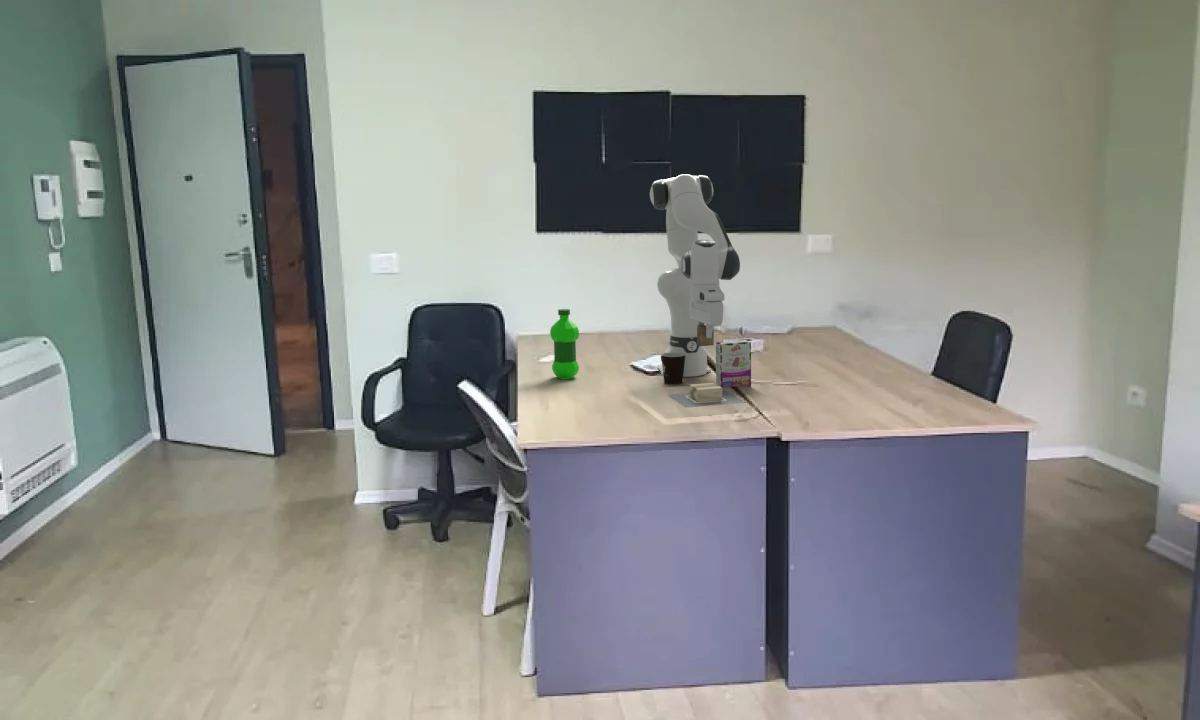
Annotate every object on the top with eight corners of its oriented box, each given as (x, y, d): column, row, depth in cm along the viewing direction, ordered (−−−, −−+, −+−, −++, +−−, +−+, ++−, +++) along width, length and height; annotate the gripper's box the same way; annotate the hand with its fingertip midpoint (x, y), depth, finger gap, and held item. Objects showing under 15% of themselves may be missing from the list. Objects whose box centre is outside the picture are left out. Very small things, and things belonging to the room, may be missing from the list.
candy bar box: (745, 386, 321) (745, 339, 318) (751, 389, 316) (752, 341, 313) (714, 388, 318) (715, 341, 315) (720, 392, 314) (721, 343, 310)
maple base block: (689, 396, 301) (689, 384, 300) (712, 394, 303) (713, 382, 302) (698, 402, 293) (698, 389, 292) (722, 400, 295) (722, 387, 294)
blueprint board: (666, 399, 304) (666, 394, 304) (724, 394, 309) (724, 390, 309) (685, 411, 287) (685, 406, 287) (746, 407, 292) (746, 402, 292)
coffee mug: (684, 385, 324) (684, 357, 323) (659, 384, 326) (659, 356, 324) (687, 378, 336) (687, 351, 334) (664, 377, 337) (663, 350, 335)
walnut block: (697, 344, 296) (697, 325, 295) (709, 343, 297) (708, 324, 296) (701, 346, 292) (701, 327, 291) (713, 345, 293) (713, 326, 292)
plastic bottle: (546, 379, 338) (544, 310, 333) (560, 374, 347) (559, 307, 343) (570, 381, 334) (568, 312, 329) (584, 376, 343) (583, 308, 338)
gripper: (684, 290, 301) (684, 332, 303) (707, 296, 281) (707, 341, 284) (703, 289, 302) (703, 331, 305) (726, 295, 283) (726, 340, 285)
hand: (705, 336), depth 294 cm, fingers closed on walnut block, 4 cm apart
